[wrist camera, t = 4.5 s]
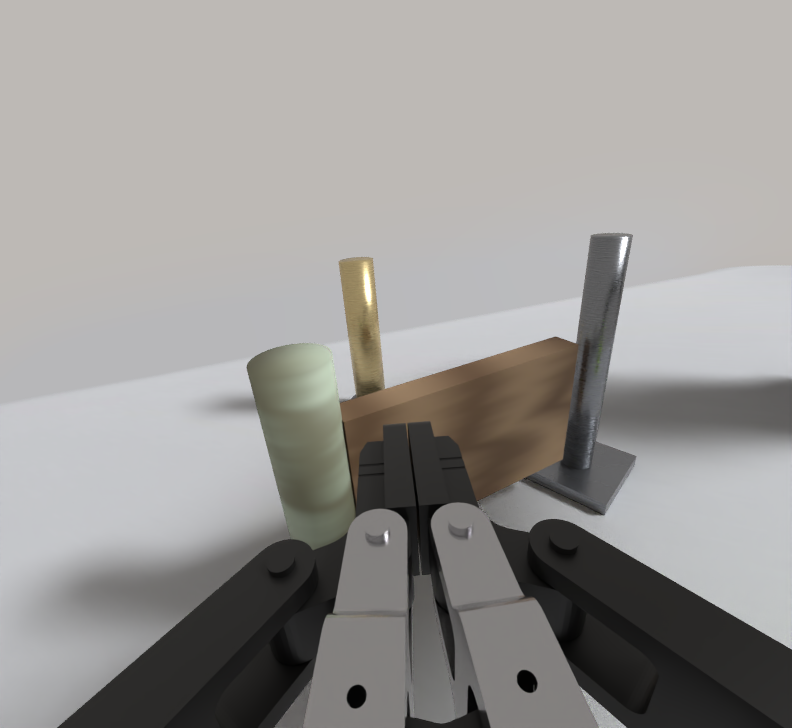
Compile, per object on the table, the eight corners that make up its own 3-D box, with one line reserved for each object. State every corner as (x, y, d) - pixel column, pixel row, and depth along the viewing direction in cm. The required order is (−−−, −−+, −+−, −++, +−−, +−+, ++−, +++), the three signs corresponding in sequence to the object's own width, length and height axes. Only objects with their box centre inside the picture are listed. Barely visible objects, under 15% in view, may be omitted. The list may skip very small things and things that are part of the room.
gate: (533, 452, 27) (550, 284, 22) (571, 478, 25) (599, 294, 20) (295, 561, 20) (241, 355, 15) (312, 614, 18) (253, 386, 13)
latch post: (373, 392, 40) (358, 254, 34) (401, 404, 37) (390, 257, 31) (343, 408, 37) (321, 262, 32) (370, 422, 35) (352, 266, 29)
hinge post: (552, 434, 31) (576, 228, 25) (634, 465, 27) (690, 229, 21) (515, 472, 28) (532, 241, 21) (604, 515, 24) (661, 246, 17)
